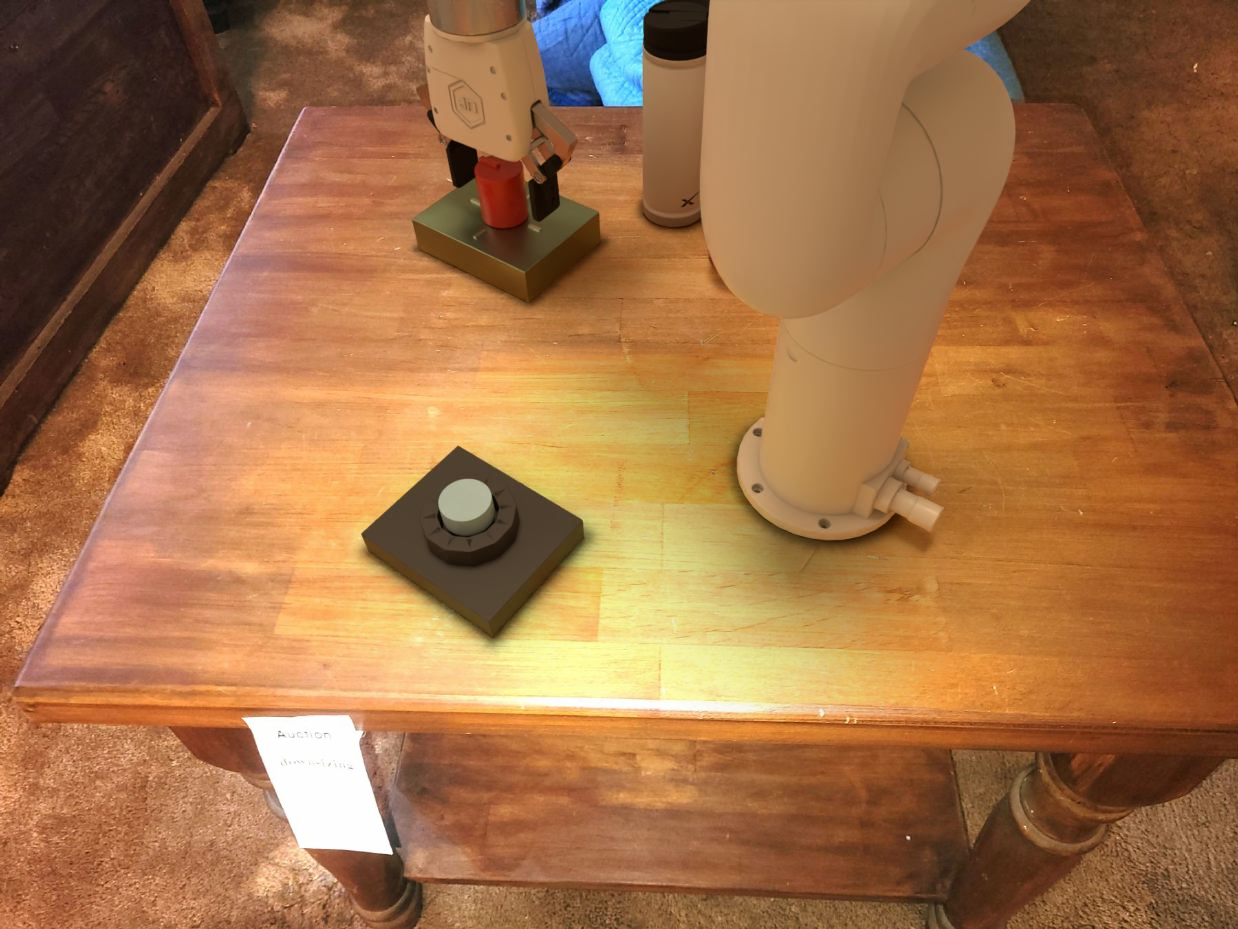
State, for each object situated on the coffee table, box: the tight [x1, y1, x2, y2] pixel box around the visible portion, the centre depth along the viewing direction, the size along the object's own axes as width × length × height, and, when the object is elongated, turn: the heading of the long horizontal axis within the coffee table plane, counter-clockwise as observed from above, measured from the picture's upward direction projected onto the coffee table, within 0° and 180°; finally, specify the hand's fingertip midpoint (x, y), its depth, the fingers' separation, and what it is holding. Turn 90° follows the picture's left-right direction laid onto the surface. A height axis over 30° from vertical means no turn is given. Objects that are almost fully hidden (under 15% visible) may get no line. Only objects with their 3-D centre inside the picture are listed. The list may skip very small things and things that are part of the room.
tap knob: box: [474, 155, 529, 228], centre depth 81 cm, size 4×4×5 cm
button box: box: [360, 445, 585, 639], centre depth 62 cm, size 12×10×4 cm
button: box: [438, 479, 495, 536], centre depth 60 cm, size 4×4×2 cm
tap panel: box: [411, 178, 602, 303], centre depth 84 cm, size 14×11×4 cm
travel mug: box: [641, 0, 710, 228], centre depth 81 cm, size 6×7×20 cm
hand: (506, 196), depth 81 cm, fingers open, 9 cm apart
